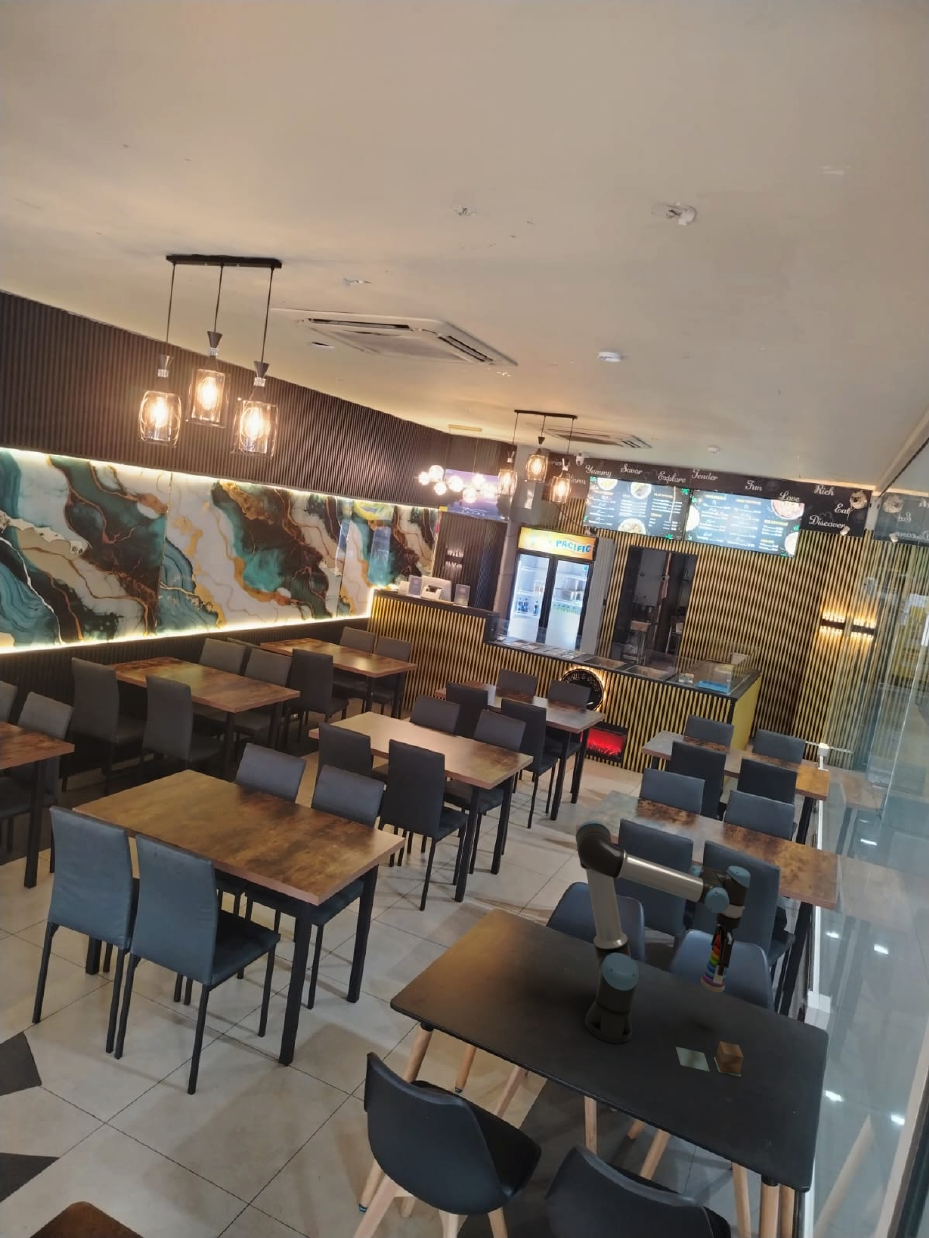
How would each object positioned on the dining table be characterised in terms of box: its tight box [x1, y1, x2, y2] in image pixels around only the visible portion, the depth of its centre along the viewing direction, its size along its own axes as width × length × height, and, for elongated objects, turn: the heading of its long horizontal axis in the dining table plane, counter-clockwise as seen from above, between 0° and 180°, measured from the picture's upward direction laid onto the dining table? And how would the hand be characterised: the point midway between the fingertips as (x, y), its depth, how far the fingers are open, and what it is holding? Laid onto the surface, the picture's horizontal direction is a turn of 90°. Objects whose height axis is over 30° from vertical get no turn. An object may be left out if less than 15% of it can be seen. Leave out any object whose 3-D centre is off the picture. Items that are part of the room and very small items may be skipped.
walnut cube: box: [715, 1040, 744, 1075], centre depth 251 cm, size 6×6×6 cm
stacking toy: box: [700, 934, 728, 993], centre depth 270 cm, size 8×8×19 cm
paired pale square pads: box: [675, 1046, 742, 1078], centre depth 252 cm, size 24×16×1 cm, turn 85°
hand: (714, 976), depth 271 cm, fingers closed on stacking toy, 7 cm apart
